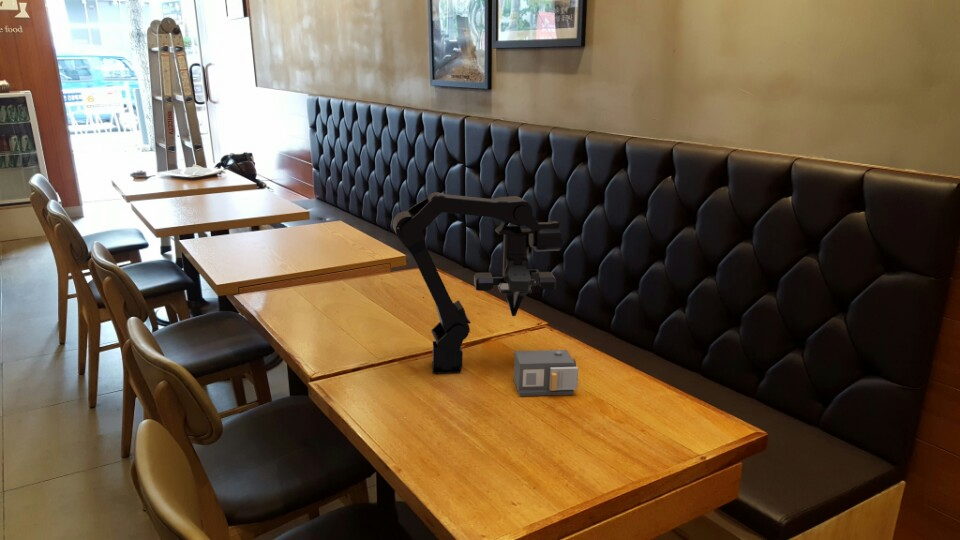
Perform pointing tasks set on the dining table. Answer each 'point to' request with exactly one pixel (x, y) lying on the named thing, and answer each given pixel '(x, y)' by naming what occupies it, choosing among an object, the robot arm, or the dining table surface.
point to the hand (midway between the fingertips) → (513, 315)
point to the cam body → (539, 371)
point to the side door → (563, 378)
